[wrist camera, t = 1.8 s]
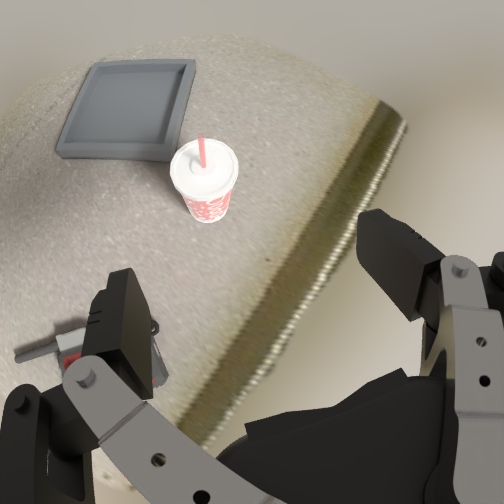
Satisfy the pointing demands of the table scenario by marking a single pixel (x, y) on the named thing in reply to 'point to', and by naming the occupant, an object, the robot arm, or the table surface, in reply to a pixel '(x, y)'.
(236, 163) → the beverage cup
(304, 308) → the table surface
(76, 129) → the tray
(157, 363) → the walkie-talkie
